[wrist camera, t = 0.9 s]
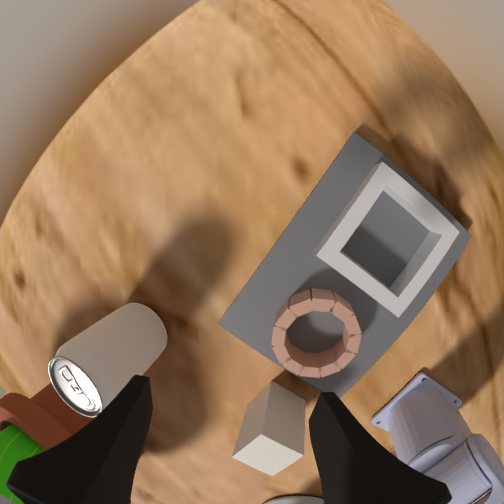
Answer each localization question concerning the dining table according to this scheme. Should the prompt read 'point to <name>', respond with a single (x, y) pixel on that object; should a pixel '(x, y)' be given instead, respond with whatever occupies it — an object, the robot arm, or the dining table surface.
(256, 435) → the square peg
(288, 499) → the chalice
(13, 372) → the dining table surface
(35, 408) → the potted cactus
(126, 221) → the dining table surface
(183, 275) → the dining table surface
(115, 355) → the can
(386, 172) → the socket board
